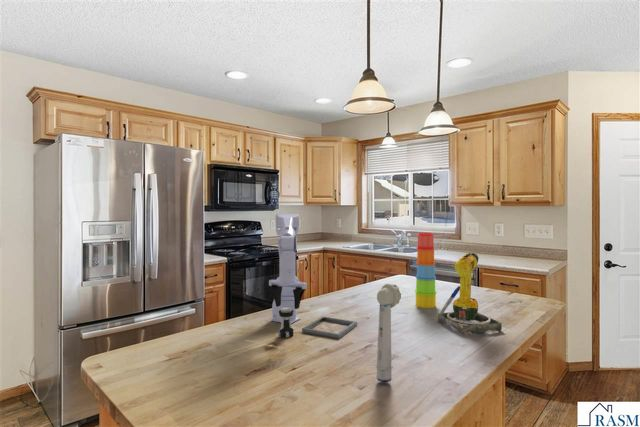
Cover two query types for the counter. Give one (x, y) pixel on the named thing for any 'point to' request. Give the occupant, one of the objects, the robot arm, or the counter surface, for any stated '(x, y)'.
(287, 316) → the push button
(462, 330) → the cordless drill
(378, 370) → the toothbrush head
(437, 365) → the counter surface
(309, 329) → the frame
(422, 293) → the stacking cups
